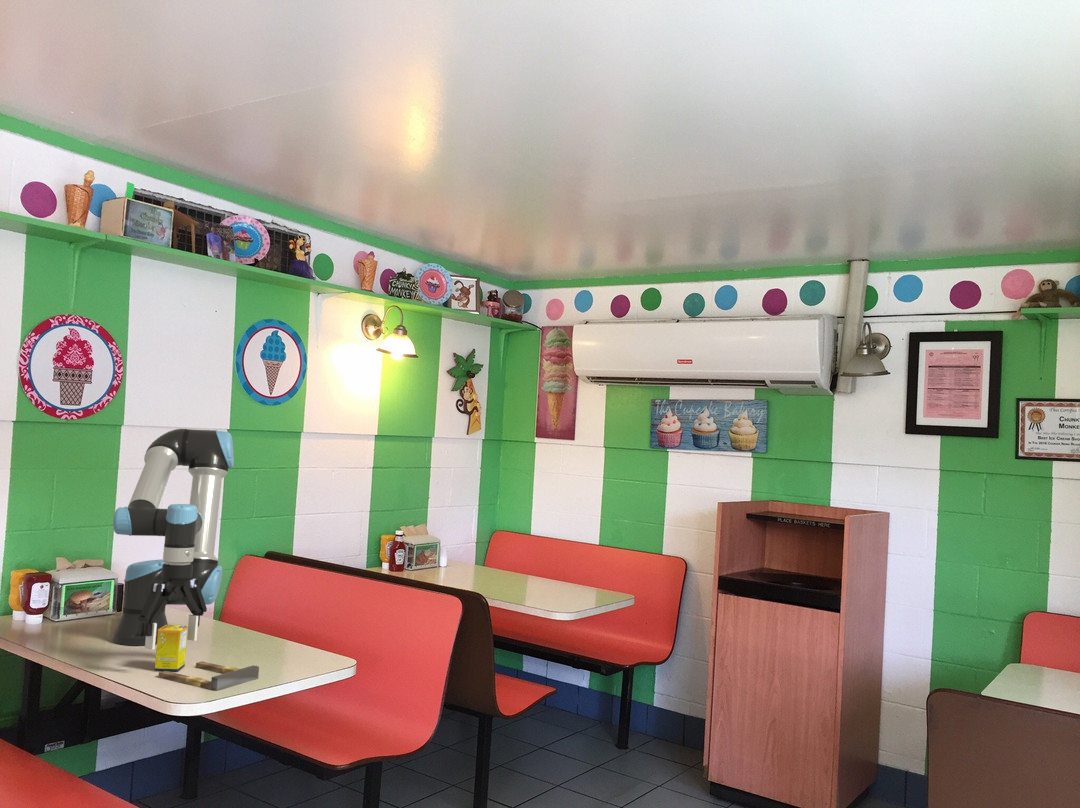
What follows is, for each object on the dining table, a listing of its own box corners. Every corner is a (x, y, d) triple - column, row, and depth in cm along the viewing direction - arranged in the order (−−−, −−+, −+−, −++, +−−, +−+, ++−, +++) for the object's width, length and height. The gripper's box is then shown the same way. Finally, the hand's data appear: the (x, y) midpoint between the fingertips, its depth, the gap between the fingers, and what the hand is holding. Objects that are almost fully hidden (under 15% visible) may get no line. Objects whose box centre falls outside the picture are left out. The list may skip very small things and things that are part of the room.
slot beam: (158, 677, 217) (159, 665, 217) (201, 665, 230) (202, 654, 230) (216, 690, 208) (217, 678, 209) (258, 678, 221) (259, 666, 221)
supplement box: (162, 665, 228) (165, 624, 228) (185, 666, 228) (188, 625, 229) (153, 671, 222) (157, 629, 222) (177, 672, 222) (180, 630, 223)
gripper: (148, 568, 214) (141, 654, 212) (224, 560, 236) (218, 638, 235) (127, 565, 217) (120, 650, 215) (204, 557, 239) (198, 634, 238)
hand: (171, 644), depth 225 cm, fingers open, 13 cm apart
